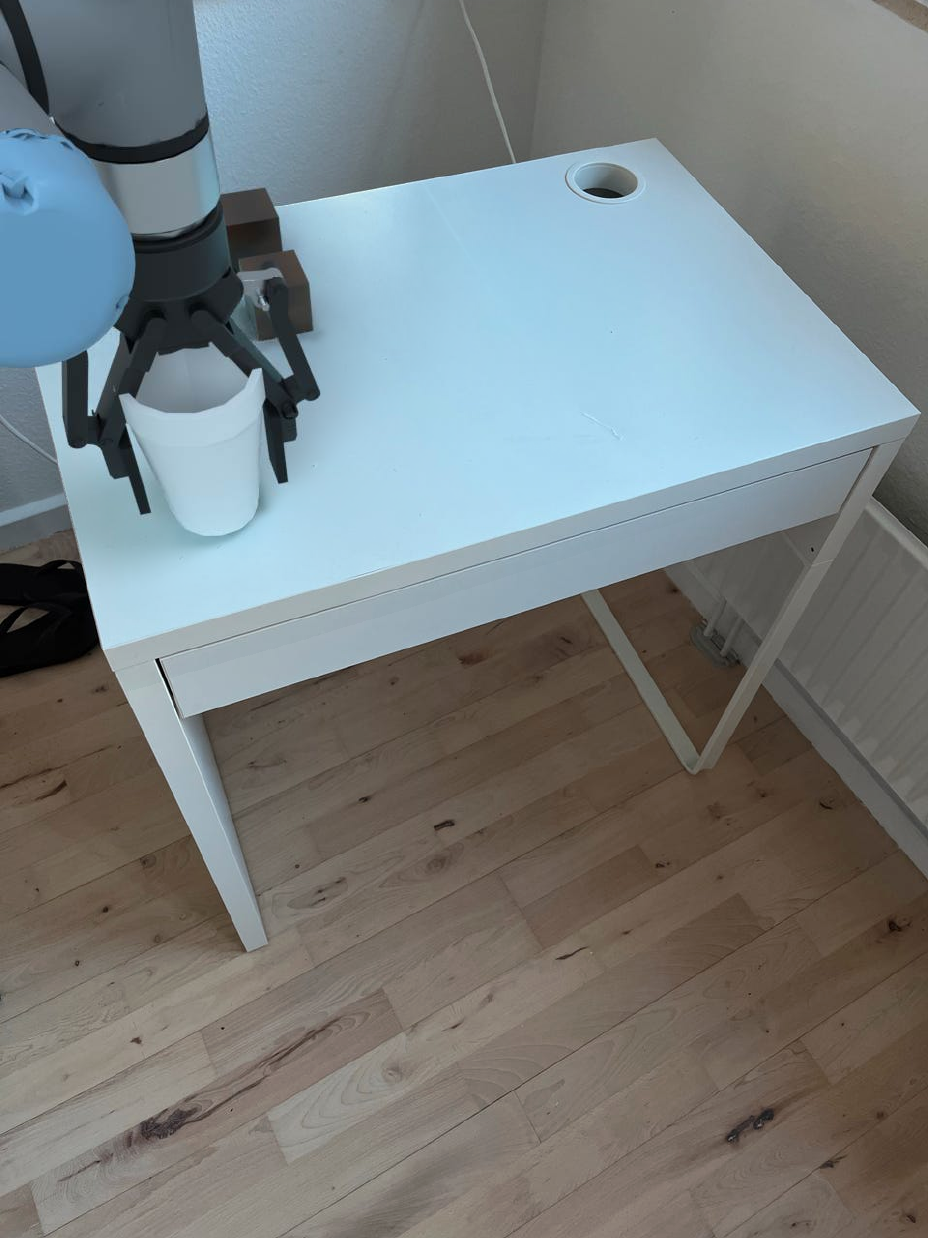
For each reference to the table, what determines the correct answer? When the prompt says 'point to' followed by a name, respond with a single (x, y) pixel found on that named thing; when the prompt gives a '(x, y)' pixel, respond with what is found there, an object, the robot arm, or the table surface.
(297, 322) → the walnut block near
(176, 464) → the foam cup
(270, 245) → the walnut block far
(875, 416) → the table surface
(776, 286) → the table surface
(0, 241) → the robot arm
